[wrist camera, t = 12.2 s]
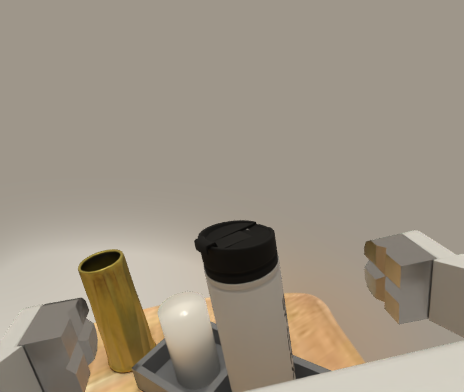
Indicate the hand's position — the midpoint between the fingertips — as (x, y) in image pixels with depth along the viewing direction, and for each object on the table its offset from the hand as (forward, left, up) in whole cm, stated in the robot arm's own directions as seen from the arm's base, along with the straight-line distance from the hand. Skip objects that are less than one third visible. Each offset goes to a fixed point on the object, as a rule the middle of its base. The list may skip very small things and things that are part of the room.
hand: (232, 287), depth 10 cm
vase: (-30, +11, -27) cm, 42 cm away
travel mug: (-11, +12, -26) cm, 31 cm away
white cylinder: (-20, +13, -26) cm, 35 cm away
